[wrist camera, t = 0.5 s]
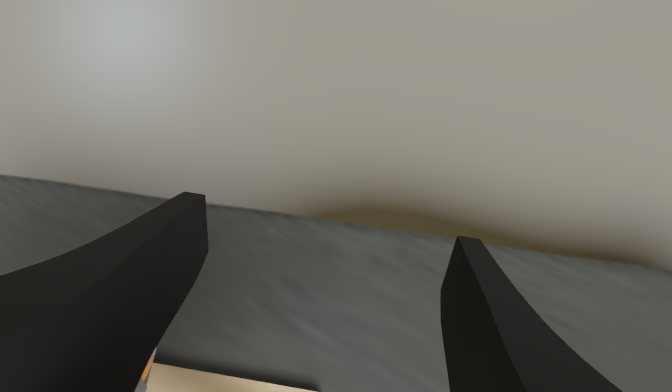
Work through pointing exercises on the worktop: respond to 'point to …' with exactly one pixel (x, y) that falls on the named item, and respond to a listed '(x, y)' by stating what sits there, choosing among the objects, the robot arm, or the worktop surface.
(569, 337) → the worktop surface
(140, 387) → the grey bar
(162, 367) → the light wood flat board
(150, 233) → the robot arm
